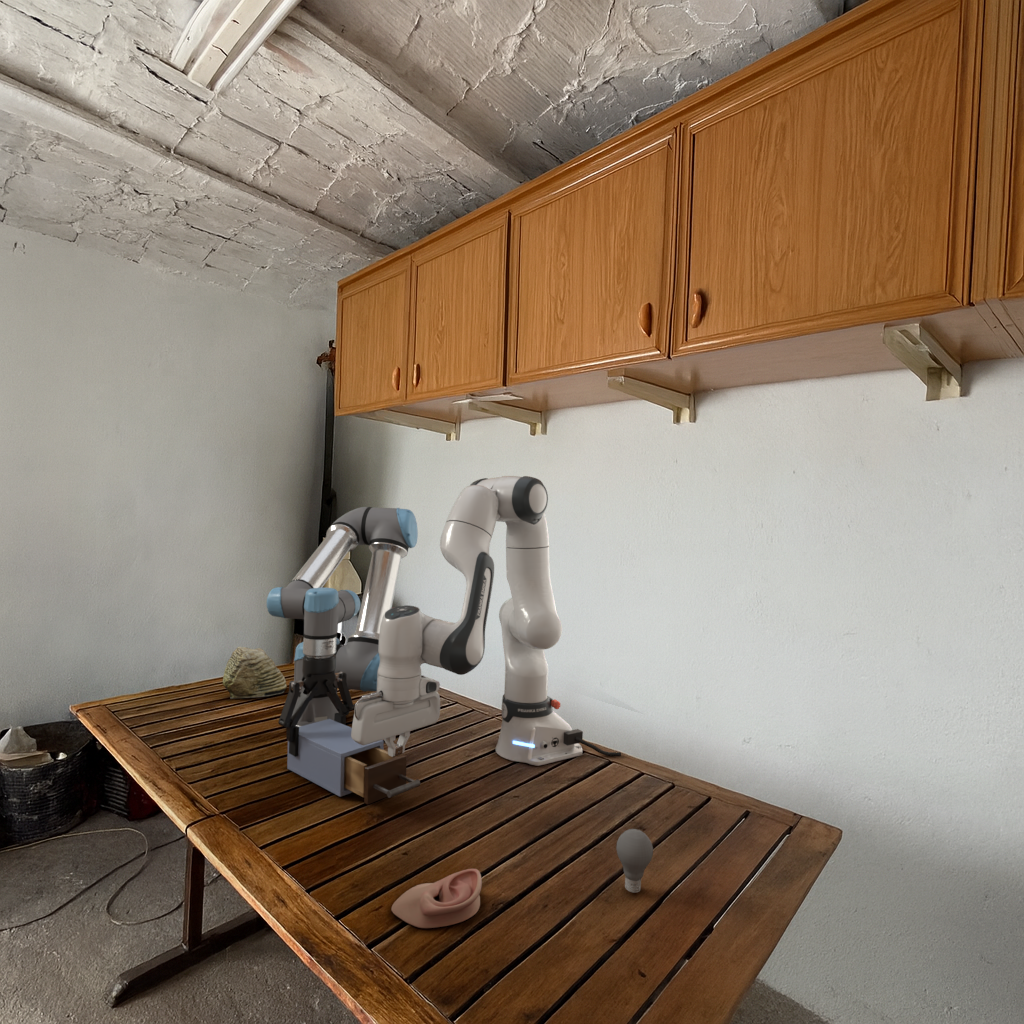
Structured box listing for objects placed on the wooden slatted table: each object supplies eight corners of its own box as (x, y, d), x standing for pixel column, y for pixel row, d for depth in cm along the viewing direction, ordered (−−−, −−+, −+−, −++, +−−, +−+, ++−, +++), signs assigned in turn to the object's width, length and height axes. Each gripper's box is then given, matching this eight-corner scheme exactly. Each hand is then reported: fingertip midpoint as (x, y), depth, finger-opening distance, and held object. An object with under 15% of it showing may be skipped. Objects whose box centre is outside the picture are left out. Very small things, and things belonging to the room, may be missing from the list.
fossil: (218, 695, 195) (220, 647, 195) (278, 685, 208) (279, 640, 207) (228, 703, 189) (230, 653, 188) (289, 692, 201) (290, 645, 201)
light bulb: (610, 879, 108) (613, 822, 108) (644, 879, 109) (647, 822, 109) (619, 902, 102) (622, 840, 102) (655, 901, 103) (658, 840, 103)
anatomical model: (384, 895, 95) (411, 854, 106) (383, 921, 95) (410, 877, 106) (469, 910, 92) (488, 866, 104) (468, 937, 93) (487, 890, 104)
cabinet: (382, 781, 141) (383, 740, 141) (340, 797, 133) (341, 753, 133) (328, 755, 155) (329, 718, 155) (287, 768, 147) (287, 729, 147)
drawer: (424, 797, 131) (424, 763, 131) (385, 814, 123) (386, 777, 123) (350, 763, 148) (351, 732, 148) (312, 775, 141) (313, 743, 141)
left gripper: (281, 666, 137) (277, 766, 137) (370, 650, 155) (367, 739, 155) (264, 659, 142) (260, 756, 142) (352, 644, 160) (349, 731, 160)
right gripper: (365, 701, 119) (362, 774, 119) (445, 681, 134) (443, 745, 135) (346, 693, 123) (343, 764, 123) (426, 674, 138) (423, 737, 139)
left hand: (316, 747), depth 149 cm, fingers closed on cabinet, 11 cm apart
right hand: (396, 754), depth 129 cm, fingers closed
